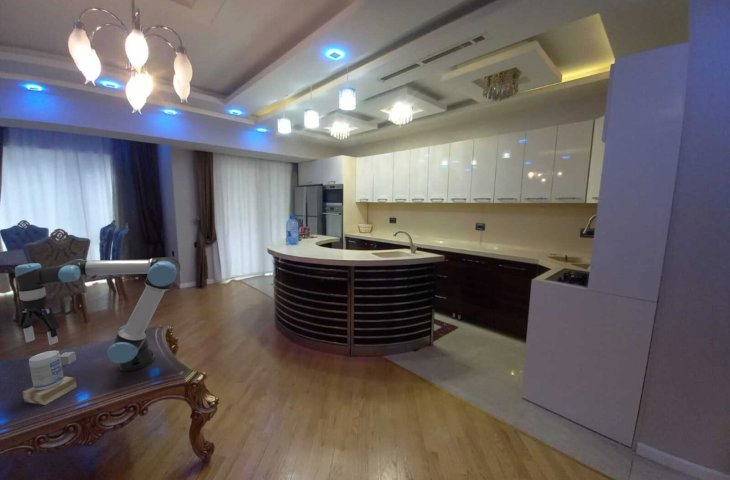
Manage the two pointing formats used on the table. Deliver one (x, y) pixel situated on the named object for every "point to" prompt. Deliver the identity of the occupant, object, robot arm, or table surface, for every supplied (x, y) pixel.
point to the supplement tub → (46, 370)
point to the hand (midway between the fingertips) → (42, 342)
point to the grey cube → (67, 358)
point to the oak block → (49, 392)
